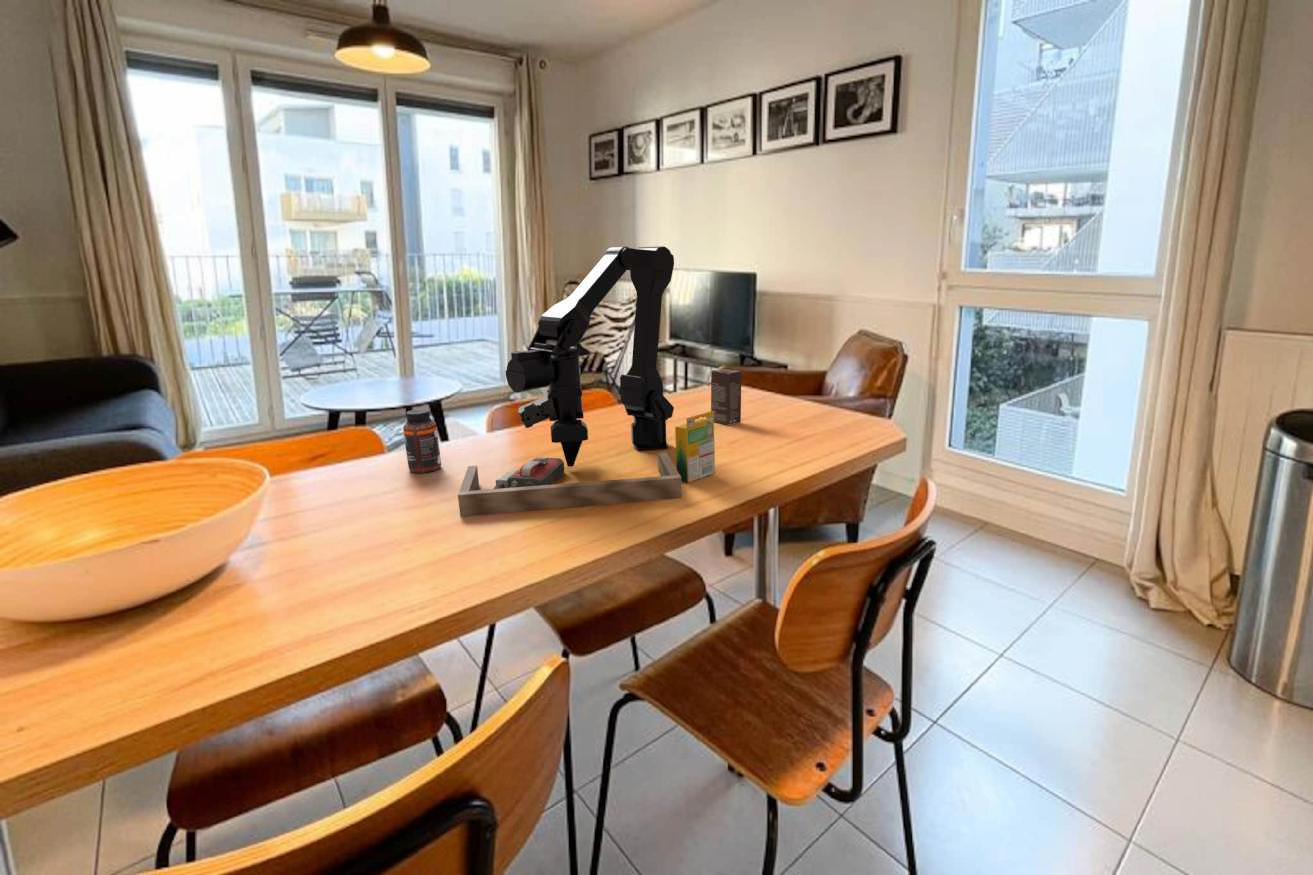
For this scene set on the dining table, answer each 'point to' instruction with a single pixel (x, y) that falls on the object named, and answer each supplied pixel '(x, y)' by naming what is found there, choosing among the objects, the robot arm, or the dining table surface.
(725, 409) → the box
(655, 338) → the robot arm
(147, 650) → the dining table surface
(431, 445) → the supplement bottle
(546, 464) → the walkie-talkie
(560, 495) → the brown shallow tray
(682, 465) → the crayon box
